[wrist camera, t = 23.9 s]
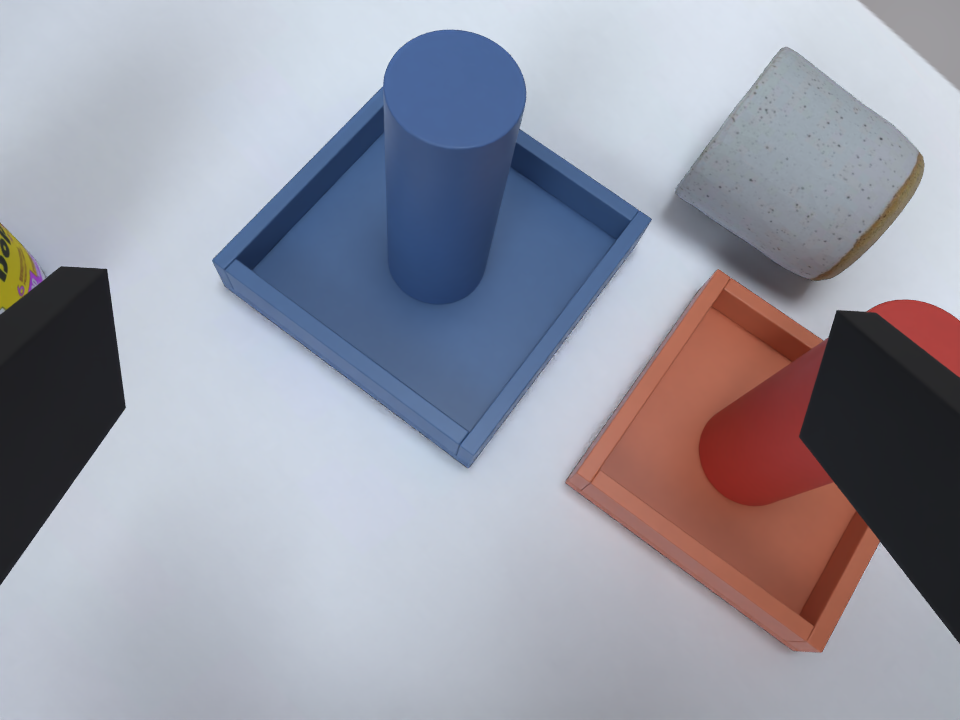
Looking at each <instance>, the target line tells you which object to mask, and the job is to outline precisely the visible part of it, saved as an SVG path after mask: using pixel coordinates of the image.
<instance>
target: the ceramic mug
mask: <svg viewBox="0 0 960 720" xmlns="http://www.w3.org/2000/svg"><path fill="white" fill-rule="evenodd" d="M923 171H924V160H923V156H922V155H921V154H920V152H919V151H918V150H917V148H916V147H915V146H914V145H913V144H912V143H911V142H910V141H909V140H908V139H907V138H906V137H905V136H904V135H903V134H902V133H901V132H900V131H899V130H898V129H897V128H896V127H895V126H894V125H892V124H891V123H889V122H888V121H887V120H885V119H884V118H882V117H881V116H880V115H878V114H877V113H875V112H874V111H872V110H871V109H869V108H868V107H867V106H865V105H864V104H862V103H861V102H860V101H858V100H857V99H856V98H855V97H853V96H852V95H851V94H850V93H848V92H847V91H846V90H844V89H843V88H842V87H841V86H839V85H838V84H837V83H836V82H834V81H833V80H832V79H830V78H829V77H828V76H827V75H825V74H824V73H823V72H821V71H820V70H819V69H818V68H816V67H815V66H814V65H813V64H811V63H810V62H809V61H807V60H806V59H805V58H804V57H802V56H801V55H800V54H799V53H797V52H795V51H794V50H792V49H790V48H788V47H784V48H781V49H780V51H779V52H778V53H777V54H776V55H775V56H774V57H773V59H772V61H771V62H770V63H769V65H768V66H767V67H766V68H765V70H764V71H763V73H762V74H761V75H760V76H759V78H758V79H757V81H756V82H755V83H754V85H753V86H752V87H751V88H750V90H749V91H748V92H747V93H746V95H745V96H744V97H743V98H742V100H741V101H740V102H739V103H738V105H737V106H736V107H735V108H734V110H733V111H732V112H731V114H730V115H729V116H728V118H727V119H726V121H725V122H724V124H723V125H722V127H721V128H720V130H719V131H718V132H717V133H716V135H715V136H714V137H713V138H712V140H711V141H710V142H709V144H708V145H707V147H706V148H705V149H704V151H703V152H702V154H701V155H700V157H699V158H698V159H697V160H696V162H695V163H694V164H693V166H692V167H691V168H690V170H689V171H688V173H687V174H686V175H685V176H684V178H683V179H682V180H681V182H680V183H679V184H678V185H677V187H676V188H675V193H676V194H677V195H678V196H679V197H680V198H681V199H683V200H684V201H686V202H688V203H689V204H691V205H692V206H694V207H696V208H697V209H699V210H700V211H701V212H703V213H704V214H706V215H707V216H708V217H710V218H711V219H712V220H714V221H715V222H717V223H718V224H720V225H721V226H723V227H724V228H726V229H727V230H729V231H730V232H732V233H733V234H735V235H737V236H738V237H740V238H741V239H743V240H744V241H746V242H747V243H749V244H750V245H752V246H753V247H755V248H756V249H758V250H759V251H760V252H762V253H763V254H764V255H766V256H767V257H768V258H770V259H771V260H773V261H774V262H776V263H777V264H779V265H780V266H782V267H783V268H785V269H787V270H789V271H791V272H793V273H795V274H797V275H800V276H802V277H804V278H807V279H809V280H813V281H819V280H824V279H830V278H833V277H834V276H836V275H838V274H839V273H841V272H842V271H844V270H845V269H847V268H848V267H849V266H850V265H851V264H853V263H854V262H855V261H856V260H857V259H858V258H860V257H861V256H862V255H863V254H864V253H865V252H866V251H867V250H868V249H869V248H870V247H871V246H872V245H873V244H874V243H875V242H876V241H877V240H878V239H879V238H880V237H881V235H882V234H883V233H884V232H885V231H886V230H887V229H888V228H889V226H890V225H891V224H892V223H893V222H894V221H895V219H896V218H897V217H898V216H899V214H900V213H901V212H902V210H903V209H904V208H905V206H906V205H907V203H908V202H909V201H910V199H911V198H912V196H913V195H914V193H915V191H916V189H917V187H918V186H919V184H920V182H921V179H922V176H923Z"/></svg>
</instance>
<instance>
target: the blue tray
mask: <svg viewBox="0 0 960 720" xmlns="http://www.w3.org/2000/svg"><path fill="white" fill-rule="evenodd" d="M651 220H652V219H651V218H650V217H648V216H647V215H645V214H644V213H642V212H641V211H639V210H638V209H636V208H635V207H633V206H632V205H631V204H629V203H628V202H626V201H625V200H623V199H622V198H620V197H619V196H617V195H616V194H614V193H613V192H611V191H610V190H608V189H607V188H606V187H604V186H603V185H601V184H600V183H598V182H597V181H595V180H594V179H592V178H591V177H589V176H588V175H586V174H585V173H583V172H582V171H581V170H579V169H578V168H576V167H575V166H573V165H572V164H570V163H569V162H567V161H566V160H564V159H563V158H561V157H560V156H558V155H557V154H556V153H554V152H553V151H551V150H550V149H548V148H547V147H545V146H544V145H542V144H541V143H539V142H538V141H536V140H535V139H533V138H532V137H531V136H529V135H528V134H526V133H525V132H523V131H522V130H520V129H519V132H518V136H517V141H516V145H515V149H514V153H513V157H512V161H511V165H510V169H509V174H508V178H507V182H506V186H505V190H504V194H503V198H502V202H501V207H500V211H499V215H498V219H497V223H496V227H495V231H494V235H493V240H492V244H491V248H490V252H489V256H488V260H487V264H486V269H485V272H484V275H483V278H482V280H481V282H480V283H479V285H478V286H477V287H476V288H475V290H474V291H473V292H471V293H470V294H469V295H468V296H466V297H464V298H463V299H461V300H458V301H456V302H452V303H448V304H429V303H424V302H421V301H418V300H416V299H414V298H412V297H411V296H409V295H407V294H406V293H405V292H404V291H402V290H401V288H400V287H399V286H398V285H397V284H396V282H395V281H394V279H393V277H392V275H391V273H390V270H389V265H388V242H387V205H386V169H385V132H384V96H383V87H382V88H381V89H380V90H379V91H378V92H377V93H376V94H375V95H374V96H373V97H372V98H371V99H370V100H369V101H368V102H367V103H366V104H365V105H364V106H363V107H362V108H361V109H360V110H359V111H358V112H357V113H356V114H355V115H354V116H353V117H352V118H351V119H350V120H349V121H348V122H347V123H346V124H345V125H344V126H343V127H342V128H341V129H340V131H339V132H338V133H337V134H336V135H335V136H334V137H333V138H332V139H331V140H330V141H329V142H328V143H327V144H326V145H325V146H324V147H323V148H322V149H321V150H320V151H319V152H318V153H317V154H316V155H315V156H314V157H313V158H312V159H311V160H310V161H309V162H308V163H307V164H306V165H305V166H304V167H303V168H302V169H301V170H300V171H299V172H298V173H297V174H296V175H295V176H294V177H293V178H292V179H291V180H290V181H289V182H288V183H287V184H286V185H285V186H284V187H283V188H282V189H281V190H280V191H279V193H278V194H277V195H276V196H275V197H274V198H273V199H272V200H271V201H270V202H269V203H268V204H267V205H266V206H265V207H264V208H263V209H262V210H261V211H260V212H259V213H258V214H257V215H256V216H255V217H254V218H253V219H252V220H251V221H250V222H249V223H248V224H247V225H246V226H245V227H244V228H243V229H242V230H241V231H240V232H239V233H238V234H237V235H236V236H235V237H234V238H233V239H232V240H231V241H230V242H229V243H228V244H227V245H226V246H225V247H224V248H223V249H222V250H221V251H220V252H219V253H218V255H217V256H216V257H215V258H214V259H213V260H212V262H213V264H214V266H215V267H216V269H217V271H218V273H219V275H220V277H221V279H222V282H223V284H224V286H225V287H226V288H228V289H229V290H230V291H232V292H233V293H234V294H236V295H237V296H239V297H240V298H241V299H243V300H244V301H245V302H247V303H248V304H249V305H251V306H252V307H253V308H255V309H256V310H257V311H259V312H260V313H261V314H263V315H264V316H265V317H267V318H268V319H269V320H271V321H272V322H273V323H275V324H276V325H277V326H279V327H280V328H281V329H283V330H284V331H285V332H287V333H288V334H289V335H291V336H292V337H293V338H295V339H296V340H297V341H299V342H300V343H301V344H303V345H304V346H305V347H307V348H308V349H309V350H311V351H312V352H313V353H315V354H316V355H317V356H319V357H320V358H321V359H323V360H324V361H325V362H327V363H328V364H329V365H331V366H332V367H333V368H335V369H336V370H337V371H339V372H340V373H341V374H343V375H344V376H345V377H347V378H348V379H349V380H351V381H352V382H353V383H355V384H356V385H357V386H359V387H360V388H361V389H363V390H364V391H365V392H367V393H368V394H369V395H371V396H372V397H373V398H375V399H376V400H377V401H379V402H380V403H381V404H383V405H384V406H385V407H387V408H388V409H389V410H391V411H392V412H394V413H395V414H396V415H398V416H399V417H400V418H402V419H403V420H404V421H406V422H407V423H408V424H410V425H411V426H412V427H414V428H415V429H416V430H418V431H419V432H420V433H422V434H423V435H424V436H426V437H427V438H428V439H430V440H431V441H432V442H434V443H435V444H436V445H438V446H439V447H440V448H442V449H443V450H444V451H446V452H447V453H448V454H450V455H451V456H452V457H454V458H455V459H456V460H458V461H459V462H460V463H462V464H463V465H464V466H466V467H467V468H469V467H470V466H471V465H472V463H473V462H474V461H475V459H476V458H477V457H478V455H479V454H480V453H481V451H482V450H483V449H484V447H485V446H486V445H487V443H488V442H489V441H490V439H491V438H492V437H493V435H494V434H495V433H496V431H497V430H498V429H499V427H500V426H501V425H502V423H503V422H504V421H505V419H506V418H507V417H508V415H509V414H510V413H511V411H512V410H513V409H514V407H515V406H516V405H517V403H518V402H519V401H520V399H521V398H522V397H523V395H524V394H525V393H526V391H527V390H528V389H529V387H530V386H531V385H532V383H533V382H534V381H535V379H536V378H537V377H538V375H539V374H540V373H541V371H542V370H543V369H544V367H545V366H546V365H547V363H548V362H549V361H550V359H551V358H552V357H553V355H554V354H555V353H556V351H557V350H558V349H559V347H560V346H561V345H562V343H563V342H564V341H565V339H566V338H567V337H568V335H569V334H570V333H571V331H572V330H573V329H574V327H575V326H576V325H577V323H578V322H579V321H580V319H581V318H582V317H583V315H584V314H585V313H586V311H587V310H588V309H589V307H590V306H591V305H592V303H593V302H594V301H595V299H596V298H597V297H598V295H599V294H600V293H601V291H602V290H603V289H604V287H605V286H606V285H607V283H608V282H609V281H610V279H611V278H612V277H613V275H614V274H615V273H616V271H617V270H618V269H619V267H620V266H621V265H622V263H623V262H624V261H625V259H626V258H627V257H628V255H629V254H630V253H631V251H632V250H633V249H634V247H635V246H636V244H637V243H638V241H639V240H640V238H641V236H642V235H643V233H644V232H645V230H646V228H647V227H648V225H649V223H650V222H651Z"/></svg>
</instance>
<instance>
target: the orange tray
mask: <svg viewBox="0 0 960 720" xmlns="http://www.w3.org/2000/svg"><path fill="white" fill-rule="evenodd" d="M821 342H823V340H822V339H820V338H819V337H817V336H816V335H814V334H813V333H811V332H810V331H809V330H807V329H806V328H804V327H803V326H801V325H800V324H798V323H797V322H795V321H794V320H792V319H791V318H789V317H788V316H787V315H785V314H784V313H782V312H781V311H779V310H778V309H776V308H775V307H773V306H772V305H770V304H769V303H767V302H766V301H764V300H763V299H762V298H760V297H759V296H757V295H756V294H754V293H753V292H751V291H750V290H748V289H747V288H745V287H744V286H742V285H741V284H740V283H738V282H737V281H735V280H734V279H732V278H731V279H730V277H729V276H728V275H726V274H725V273H723V272H722V271H720V270H719V269H717V270H716V271H715V272H714V274H713V275H712V276H711V277H710V278H709V279H708V280H707V281H706V283H705V284H704V285H703V286H702V287H701V288H700V289H699V291H698V292H697V294H696V295H695V296H694V298H693V299H692V301H691V302H690V304H689V305H688V306H687V308H686V309H685V311H684V312H683V314H682V315H681V317H680V318H679V319H678V321H677V322H676V324H675V325H674V327H673V328H672V329H671V331H670V332H669V334H668V335H667V337H666V338H665V339H664V341H663V342H662V344H661V345H660V347H659V348H658V350H657V351H656V352H655V354H654V355H653V357H652V358H651V360H650V361H649V362H648V364H647V365H646V367H645V368H644V370H643V371H642V372H641V374H640V375H639V377H638V378H637V380H636V381H635V383H634V384H633V385H632V387H631V388H630V390H629V391H628V393H627V394H626V395H625V397H624V398H623V400H622V401H621V403H620V404H619V406H618V407H617V408H616V410H615V411H614V413H613V414H612V416H611V417H610V418H609V420H608V421H607V423H606V424H605V426H604V427H603V428H602V430H601V431H600V433H599V434H598V436H597V437H596V439H595V440H594V441H593V443H592V444H591V446H590V447H589V449H588V450H587V451H586V453H585V454H584V456H583V457H582V459H581V460H580V461H579V463H578V464H577V466H576V467H575V469H574V470H573V472H572V473H571V474H570V476H569V477H568V479H567V480H566V484H568V485H569V486H570V487H572V488H573V489H574V490H576V491H577V492H578V493H580V494H581V495H583V496H584V497H585V498H587V499H588V500H589V501H591V502H592V503H593V504H595V505H596V506H597V507H599V508H600V509H602V510H603V511H604V512H606V513H607V514H608V515H610V516H611V517H612V518H614V519H615V520H616V521H618V522H619V523H621V524H622V525H623V526H625V527H626V528H627V529H629V530H630V531H631V532H633V533H634V534H635V535H637V536H638V537H639V538H641V539H642V540H644V541H645V542H646V543H648V544H649V545H650V546H652V547H653V548H654V549H656V550H657V551H658V552H660V553H661V554H663V555H664V556H665V557H667V558H668V559H669V560H671V561H672V562H673V563H675V564H676V565H677V566H679V567H680V568H681V569H683V570H684V571H686V572H687V573H688V574H690V575H691V576H692V577H694V578H695V579H696V580H698V581H699V582H700V583H702V584H703V585H705V586H706V587H707V588H709V589H710V590H711V591H713V592H714V593H715V594H717V595H718V596H719V597H721V598H722V599H723V600H725V601H726V602H728V603H729V604H730V605H732V606H733V607H734V608H736V609H737V610H738V611H740V612H741V613H742V614H744V615H745V616H747V617H748V618H749V619H751V620H752V621H753V622H755V623H756V624H757V625H759V626H760V627H761V628H763V629H764V630H766V631H767V632H768V633H770V634H771V635H772V636H774V637H775V638H776V639H778V640H779V641H780V642H782V643H783V644H784V645H786V646H787V647H789V648H790V649H791V650H793V651H802V652H820V653H821V652H822V651H823V649H824V647H825V646H826V644H827V642H828V640H829V638H830V636H831V634H832V632H833V630H834V628H835V626H836V625H837V623H838V621H839V619H840V617H841V615H842V613H843V611H844V609H845V607H846V605H847V603H848V602H849V600H850V598H851V596H852V594H853V592H854V590H855V588H856V586H857V584H858V582H859V581H860V579H861V577H862V575H863V573H864V571H865V569H866V567H867V565H868V563H869V561H870V560H871V558H872V556H873V554H874V552H875V550H876V548H877V546H878V544H879V542H880V541H879V539H878V538H877V537H876V536H875V534H874V533H873V532H872V530H871V529H870V528H869V527H868V525H867V524H866V523H865V521H864V520H863V519H862V518H861V516H860V515H859V514H858V512H857V511H856V510H855V509H854V507H853V506H852V505H851V503H850V502H849V501H848V500H847V498H846V497H845V496H844V494H843V493H842V492H841V491H840V489H839V488H838V487H837V485H836V484H835V483H834V482H833V483H830V484H827V485H824V486H821V487H818V488H815V489H813V490H810V491H807V492H804V493H801V494H798V495H795V496H792V497H789V498H786V499H783V500H780V501H777V502H774V503H771V504H768V505H763V506H747V505H742V504H739V503H736V502H734V501H732V500H730V499H728V498H727V497H725V496H724V495H722V494H721V493H720V492H719V491H718V490H717V489H716V488H715V487H714V486H713V485H712V484H711V482H710V481H709V480H708V478H707V476H706V475H705V473H704V470H703V468H702V465H701V461H700V456H699V443H700V438H701V434H702V431H703V429H704V427H705V425H706V424H707V423H708V421H709V420H710V419H711V418H712V417H713V416H714V415H715V414H717V413H718V412H719V411H721V410H722V409H724V408H725V407H727V406H728V405H730V404H731V403H733V402H734V401H736V400H737V399H739V398H740V397H741V396H743V395H744V394H746V393H747V392H749V391H750V390H752V389H753V388H755V387H756V386H758V385H759V384H761V383H762V382H764V381H765V380H767V379H768V378H769V377H771V376H772V375H774V374H775V373H777V372H778V371H780V370H781V369H783V368H784V367H786V366H787V365H789V364H790V363H792V362H793V361H795V360H796V359H798V358H799V357H800V356H802V355H803V354H805V353H806V352H808V351H809V350H811V349H812V348H814V347H815V346H817V345H818V344H820V343H821Z"/></svg>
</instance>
